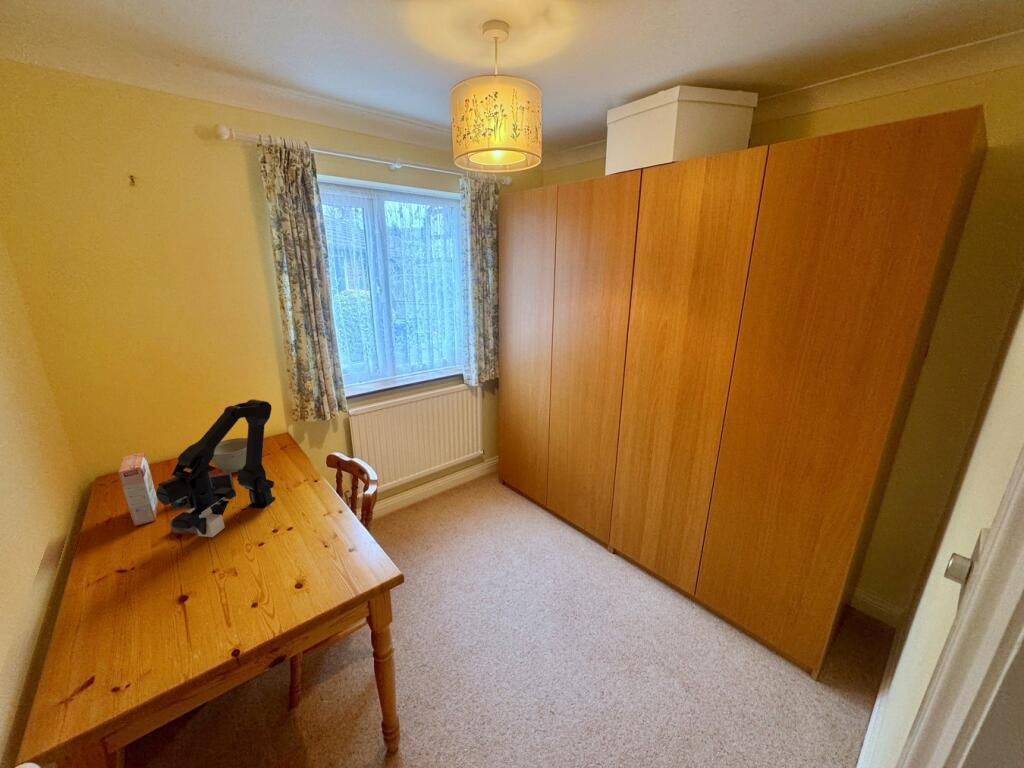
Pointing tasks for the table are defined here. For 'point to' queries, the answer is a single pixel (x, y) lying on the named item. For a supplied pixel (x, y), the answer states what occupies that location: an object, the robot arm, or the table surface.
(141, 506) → the cereal box
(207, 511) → the grey block
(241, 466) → the planter bowl
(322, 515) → the table surface
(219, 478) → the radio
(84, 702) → the table surface
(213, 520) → the cream cube
